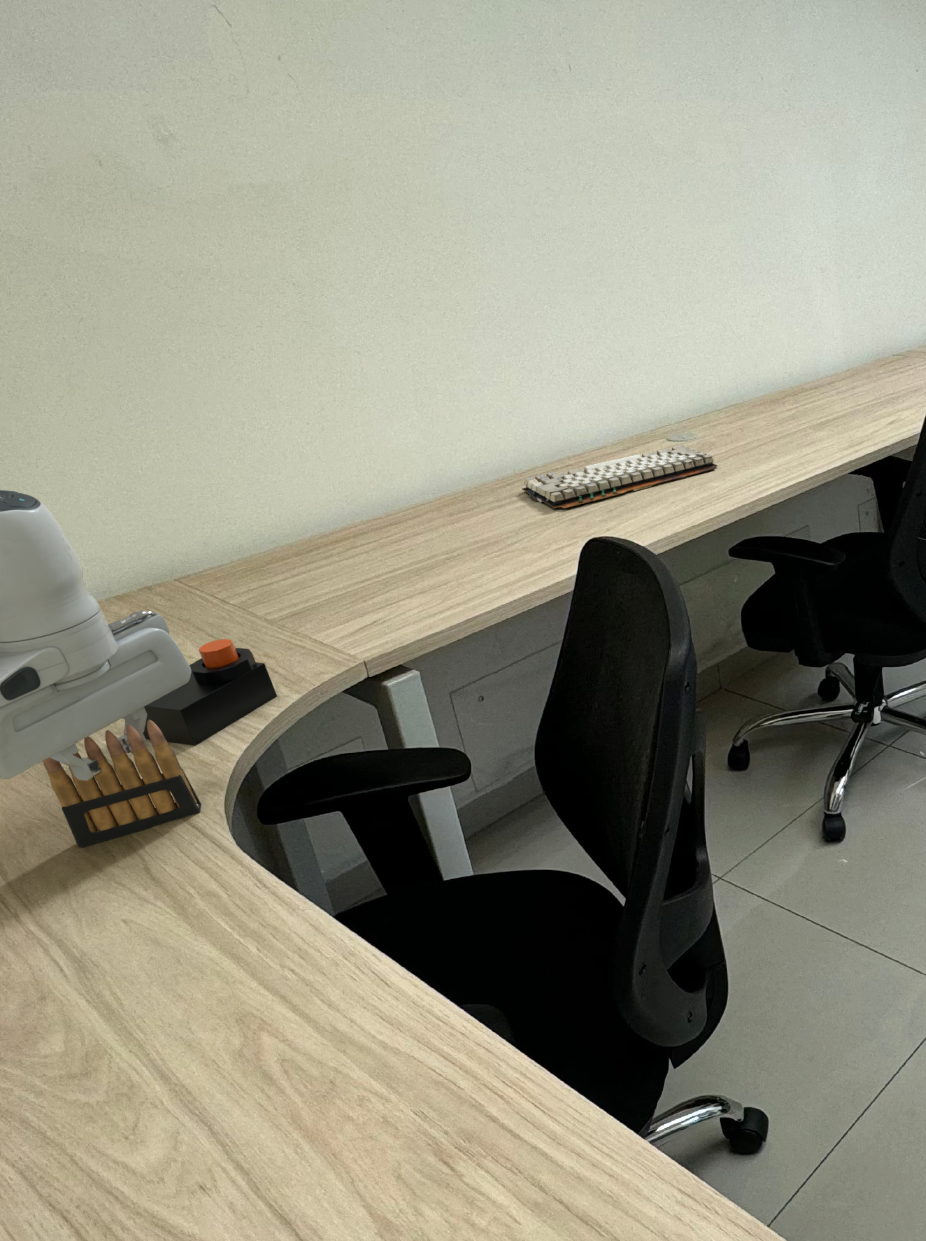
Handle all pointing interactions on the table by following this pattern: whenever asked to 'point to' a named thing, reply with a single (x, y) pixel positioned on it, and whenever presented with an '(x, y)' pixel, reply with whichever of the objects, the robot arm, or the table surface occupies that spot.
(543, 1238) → the table surface
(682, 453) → the mechanical keyboard
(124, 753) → the ammunition clip
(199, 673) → the push button box
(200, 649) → the orange push button
